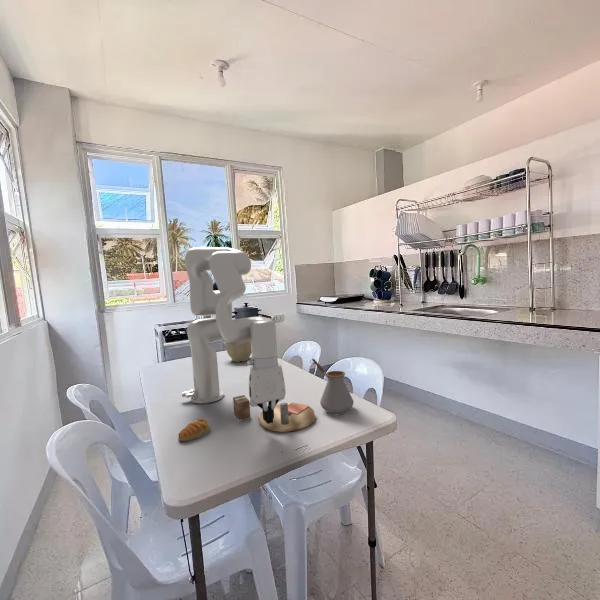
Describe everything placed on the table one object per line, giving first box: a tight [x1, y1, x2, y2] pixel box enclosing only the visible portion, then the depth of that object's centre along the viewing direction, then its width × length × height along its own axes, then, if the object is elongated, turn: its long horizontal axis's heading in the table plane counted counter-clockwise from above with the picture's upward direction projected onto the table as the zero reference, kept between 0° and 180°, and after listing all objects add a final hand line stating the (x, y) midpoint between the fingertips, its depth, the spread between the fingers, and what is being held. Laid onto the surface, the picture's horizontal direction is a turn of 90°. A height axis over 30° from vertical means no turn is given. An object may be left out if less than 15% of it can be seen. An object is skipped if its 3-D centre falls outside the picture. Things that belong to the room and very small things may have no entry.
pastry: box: [177, 417, 211, 442], centre depth 99 cm, size 9×7×4 cm
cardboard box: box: [232, 394, 251, 421], centre depth 111 cm, size 4×6×6 cm, turn 27°
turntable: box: [259, 402, 315, 433], centre depth 106 cm, size 18×18×8 cm
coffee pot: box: [309, 358, 354, 416], centre depth 115 cm, size 21×12×15 cm, turn 28°
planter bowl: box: [224, 341, 252, 363], centre depth 185 cm, size 16×16×11 cm
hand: (268, 421), depth 97 cm, fingers closed
